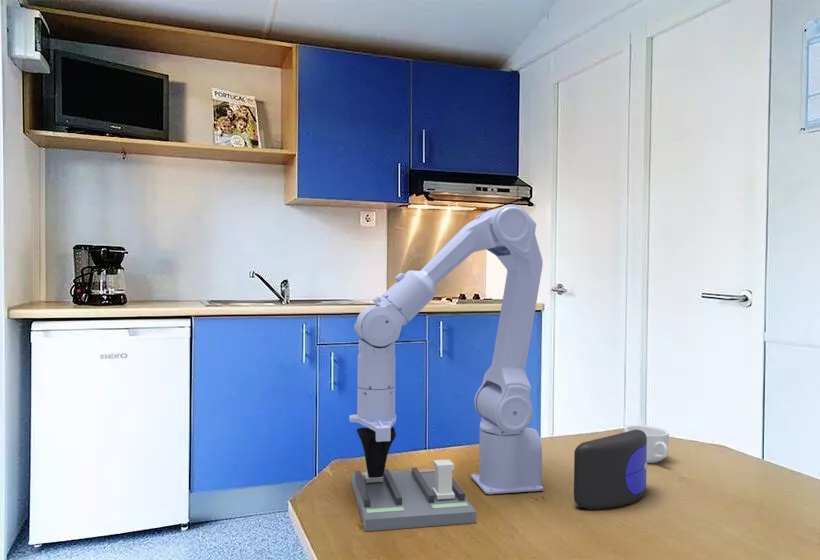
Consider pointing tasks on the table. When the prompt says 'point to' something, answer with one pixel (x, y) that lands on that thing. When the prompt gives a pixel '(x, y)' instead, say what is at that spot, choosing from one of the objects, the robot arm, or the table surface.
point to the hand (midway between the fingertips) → (375, 476)
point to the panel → (408, 501)
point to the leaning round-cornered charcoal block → (610, 470)
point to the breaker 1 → (375, 479)
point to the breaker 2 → (443, 479)
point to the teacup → (653, 441)
